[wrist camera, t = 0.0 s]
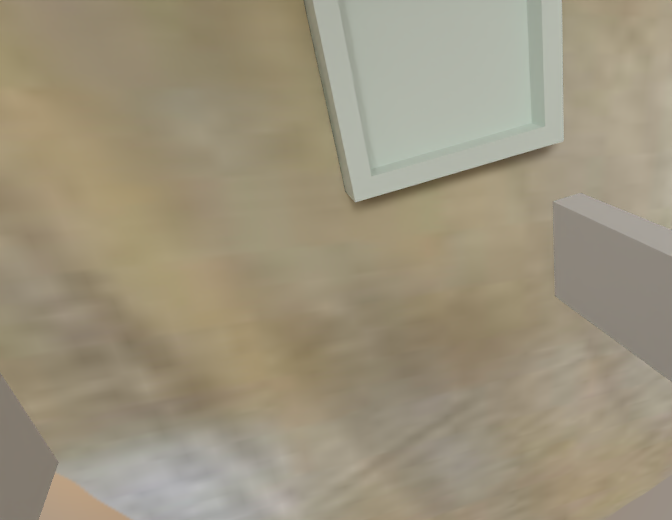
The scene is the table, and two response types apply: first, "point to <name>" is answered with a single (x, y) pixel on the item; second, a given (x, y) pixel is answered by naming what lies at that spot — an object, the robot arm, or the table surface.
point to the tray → (436, 85)
